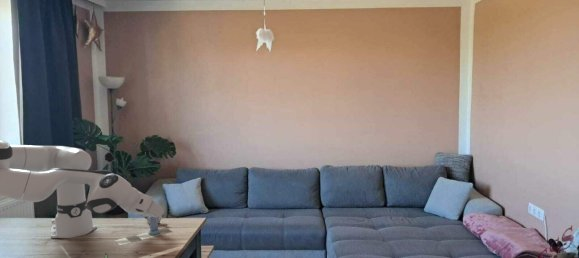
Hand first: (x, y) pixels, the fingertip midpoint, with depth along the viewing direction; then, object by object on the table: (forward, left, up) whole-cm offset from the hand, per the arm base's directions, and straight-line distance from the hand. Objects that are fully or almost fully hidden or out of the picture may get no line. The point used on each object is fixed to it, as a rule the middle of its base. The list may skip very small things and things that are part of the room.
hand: (152, 217), depth 179 cm
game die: (-15, +6, -9) cm, 18 cm away
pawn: (-1, +1, -8) cm, 8 cm away
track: (-1, -4, -9) cm, 10 cm away
